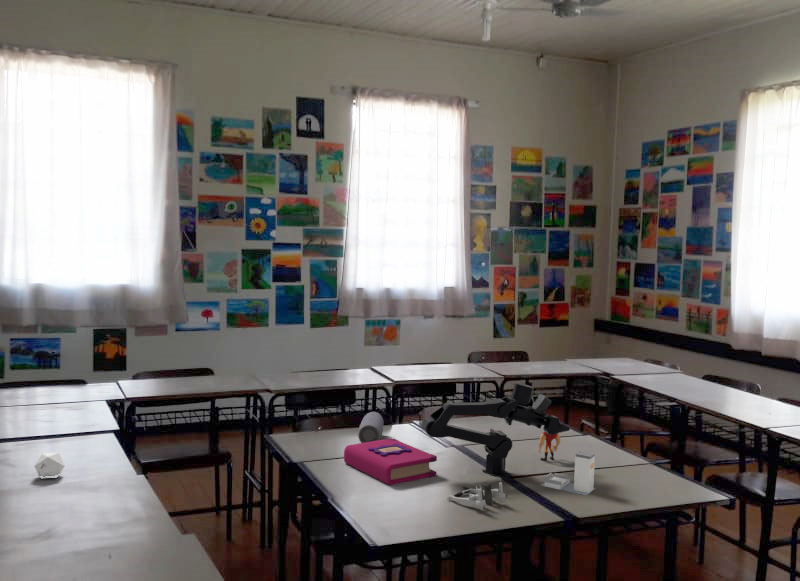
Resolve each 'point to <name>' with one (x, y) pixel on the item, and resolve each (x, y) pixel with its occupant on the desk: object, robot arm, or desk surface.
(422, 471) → the book
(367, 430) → the bluetooth speaker
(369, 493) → the desk surface
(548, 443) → the action figure
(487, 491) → the bike brake
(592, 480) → the relay module
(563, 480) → the din rail board
